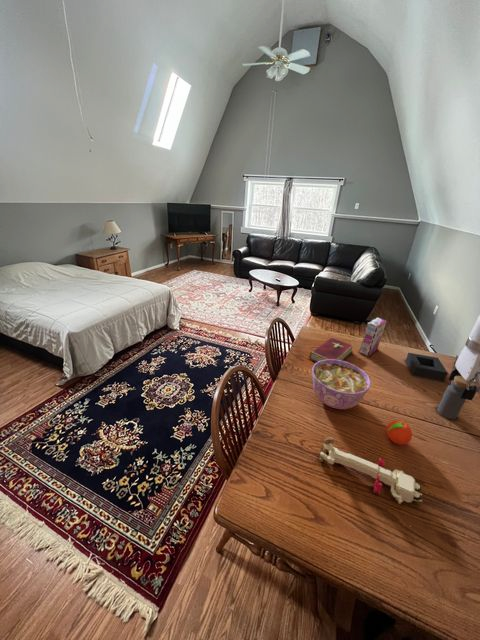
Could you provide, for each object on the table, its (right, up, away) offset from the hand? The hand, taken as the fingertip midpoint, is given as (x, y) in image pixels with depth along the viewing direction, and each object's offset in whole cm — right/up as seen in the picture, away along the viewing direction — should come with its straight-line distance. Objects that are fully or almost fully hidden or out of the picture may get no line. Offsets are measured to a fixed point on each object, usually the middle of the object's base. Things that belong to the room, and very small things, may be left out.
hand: (459, 389), depth 91 cm
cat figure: (-40, -19, -18) cm, 48 cm away
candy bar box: (-10, +8, +43) cm, 44 cm away
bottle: (0, -10, +5) cm, 12 cm away
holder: (+8, +1, +29) cm, 30 cm away
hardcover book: (-31, +6, +37) cm, 49 cm away
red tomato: (-26, -15, -6) cm, 30 cm away
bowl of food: (-39, -7, +9) cm, 41 cm away
